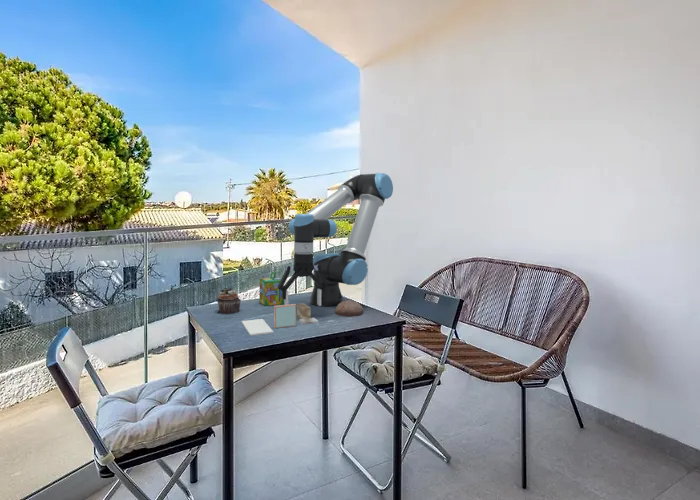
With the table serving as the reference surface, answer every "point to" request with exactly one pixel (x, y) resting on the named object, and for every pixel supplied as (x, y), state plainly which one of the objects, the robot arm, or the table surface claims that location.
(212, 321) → the table surface
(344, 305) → the decorative stone
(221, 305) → the cupcake
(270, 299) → the chalk box
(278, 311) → the tile
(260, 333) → the mat
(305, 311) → the beige boxy piece
